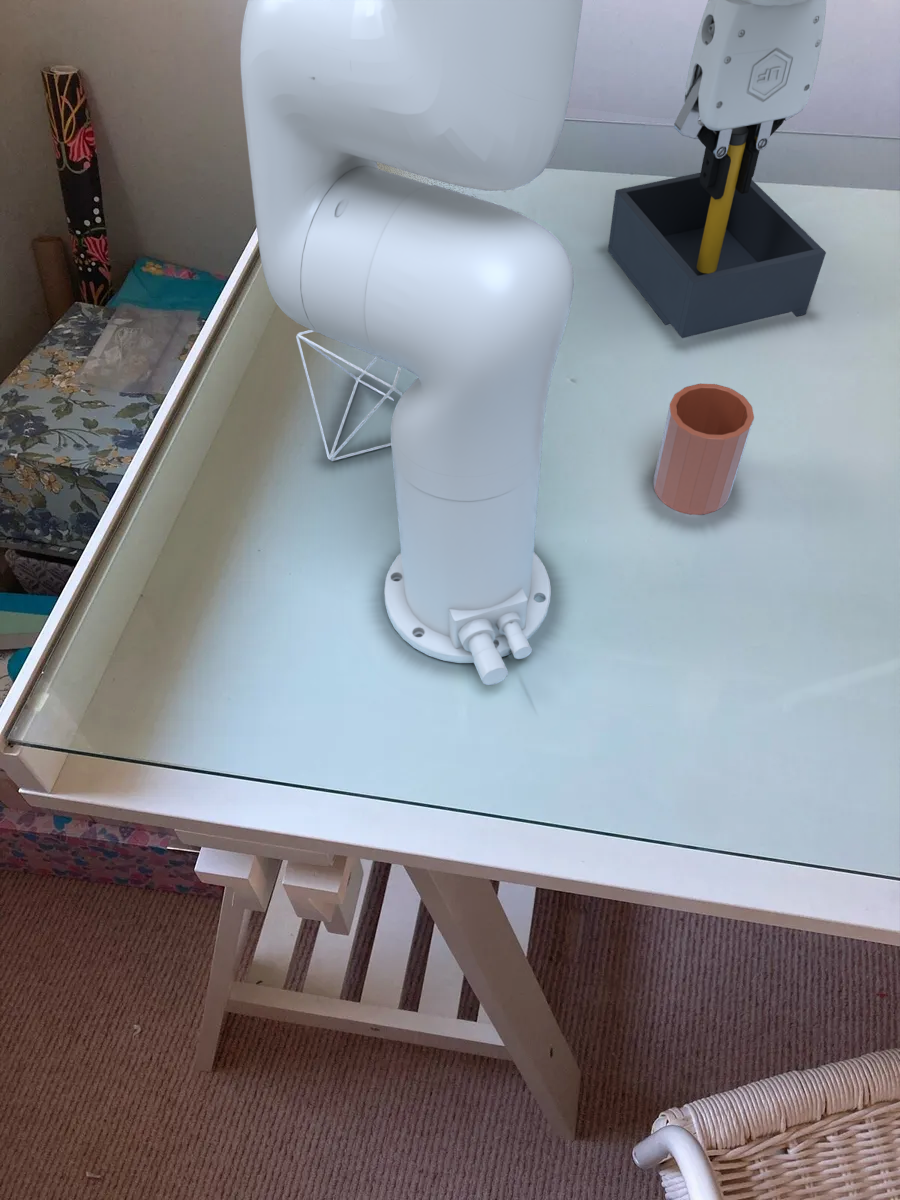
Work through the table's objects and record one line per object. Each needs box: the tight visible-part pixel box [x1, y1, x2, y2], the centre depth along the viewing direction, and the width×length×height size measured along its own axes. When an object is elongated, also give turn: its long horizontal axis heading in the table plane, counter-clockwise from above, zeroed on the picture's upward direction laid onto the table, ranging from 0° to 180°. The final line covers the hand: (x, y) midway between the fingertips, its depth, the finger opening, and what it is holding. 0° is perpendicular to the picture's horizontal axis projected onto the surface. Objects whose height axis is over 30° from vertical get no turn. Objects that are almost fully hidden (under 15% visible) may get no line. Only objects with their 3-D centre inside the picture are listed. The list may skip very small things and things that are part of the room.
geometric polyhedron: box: [295, 329, 404, 462], centre depth 82 cm, size 12×11×9 cm
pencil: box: [697, 126, 748, 274], centre depth 91 cm, size 2×2×14 cm
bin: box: [607, 171, 827, 339], centre depth 95 cm, size 17×14×7 cm
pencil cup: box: [653, 383, 755, 516], centre depth 76 cm, size 6×6×9 cm
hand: (724, 187), depth 89 cm, fingers closed on pencil, 2 cm apart
